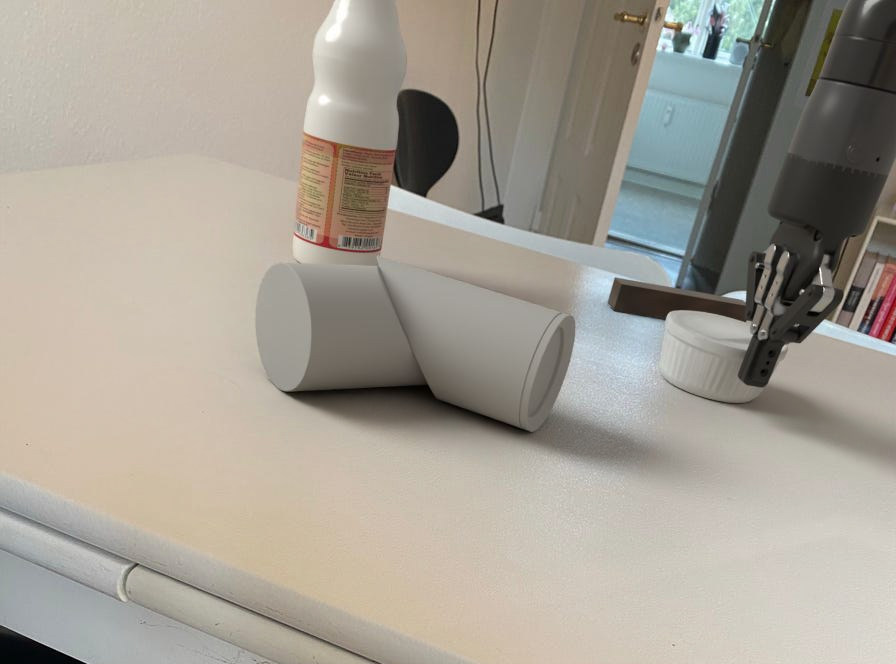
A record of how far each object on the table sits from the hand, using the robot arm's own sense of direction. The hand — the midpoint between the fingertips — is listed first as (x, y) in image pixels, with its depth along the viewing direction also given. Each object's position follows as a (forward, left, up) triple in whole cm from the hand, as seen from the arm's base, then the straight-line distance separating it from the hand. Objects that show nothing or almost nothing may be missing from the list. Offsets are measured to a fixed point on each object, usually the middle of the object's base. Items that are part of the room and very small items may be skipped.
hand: (750, 383), depth 77 cm
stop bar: (-5, -32, -3) cm, 33 cm away
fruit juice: (+35, -30, -3) cm, 47 cm away
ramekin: (0, -8, -3) cm, 8 cm away
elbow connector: (+29, +8, -3) cm, 30 cm away
